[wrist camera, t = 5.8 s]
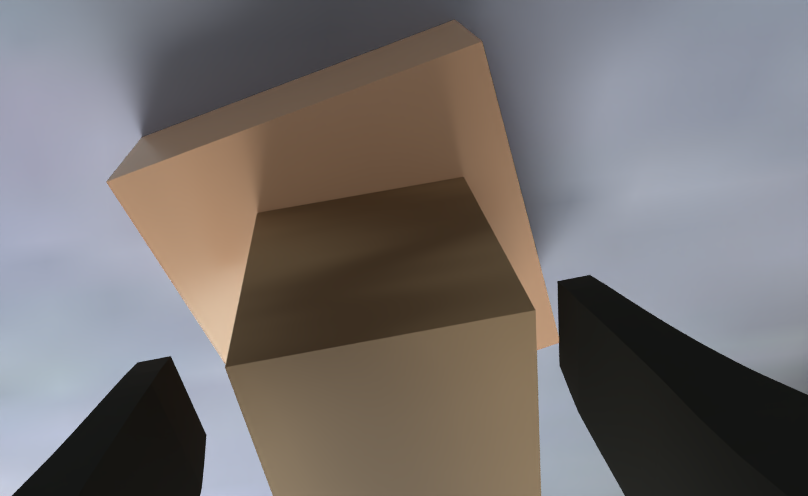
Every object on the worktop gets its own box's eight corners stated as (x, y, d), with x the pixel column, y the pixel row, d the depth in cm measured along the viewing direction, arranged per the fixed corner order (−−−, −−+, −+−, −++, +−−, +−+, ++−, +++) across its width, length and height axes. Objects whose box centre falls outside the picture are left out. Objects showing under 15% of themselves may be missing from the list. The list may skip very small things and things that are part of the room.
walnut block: (463, 176, 13) (535, 310, 9) (478, 338, 15) (541, 509, 11) (256, 212, 13) (224, 367, 8) (303, 371, 15) (296, 557, 11)
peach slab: (452, 17, 14) (482, 41, 12) (525, 280, 18) (560, 342, 16) (144, 134, 15) (106, 182, 12) (281, 365, 19) (274, 439, 16)
